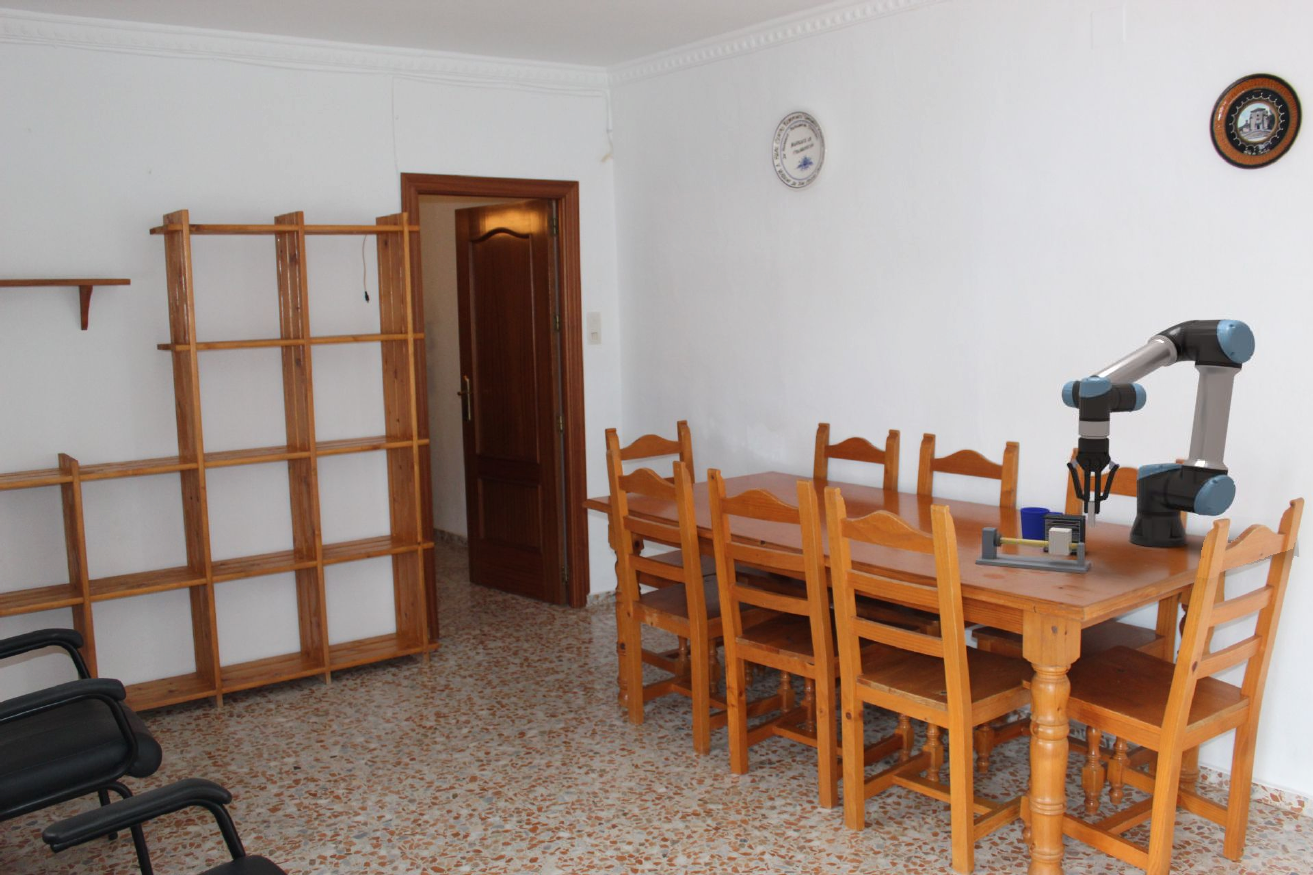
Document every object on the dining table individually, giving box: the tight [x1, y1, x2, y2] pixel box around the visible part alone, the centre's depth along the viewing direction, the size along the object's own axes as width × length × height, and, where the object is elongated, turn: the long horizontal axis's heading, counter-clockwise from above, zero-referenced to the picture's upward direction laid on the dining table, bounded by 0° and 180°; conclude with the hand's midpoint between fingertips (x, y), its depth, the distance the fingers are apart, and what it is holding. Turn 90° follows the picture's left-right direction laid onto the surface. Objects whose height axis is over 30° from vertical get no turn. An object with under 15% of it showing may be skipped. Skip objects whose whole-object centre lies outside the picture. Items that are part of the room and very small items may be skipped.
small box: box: [1043, 513, 1087, 556], centre depth 299 cm, size 11×6×10 cm, turn 59°
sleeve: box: [1048, 527, 1072, 557], centre depth 281 cm, size 5×4×6 cm
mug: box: [1019, 506, 1064, 541], centre depth 311 cm, size 8×12×10 cm
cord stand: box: [975, 526, 1092, 575], centre depth 285 cm, size 28×10×9 cm, turn 59°
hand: (1091, 525), depth 277 cm, fingers closed
